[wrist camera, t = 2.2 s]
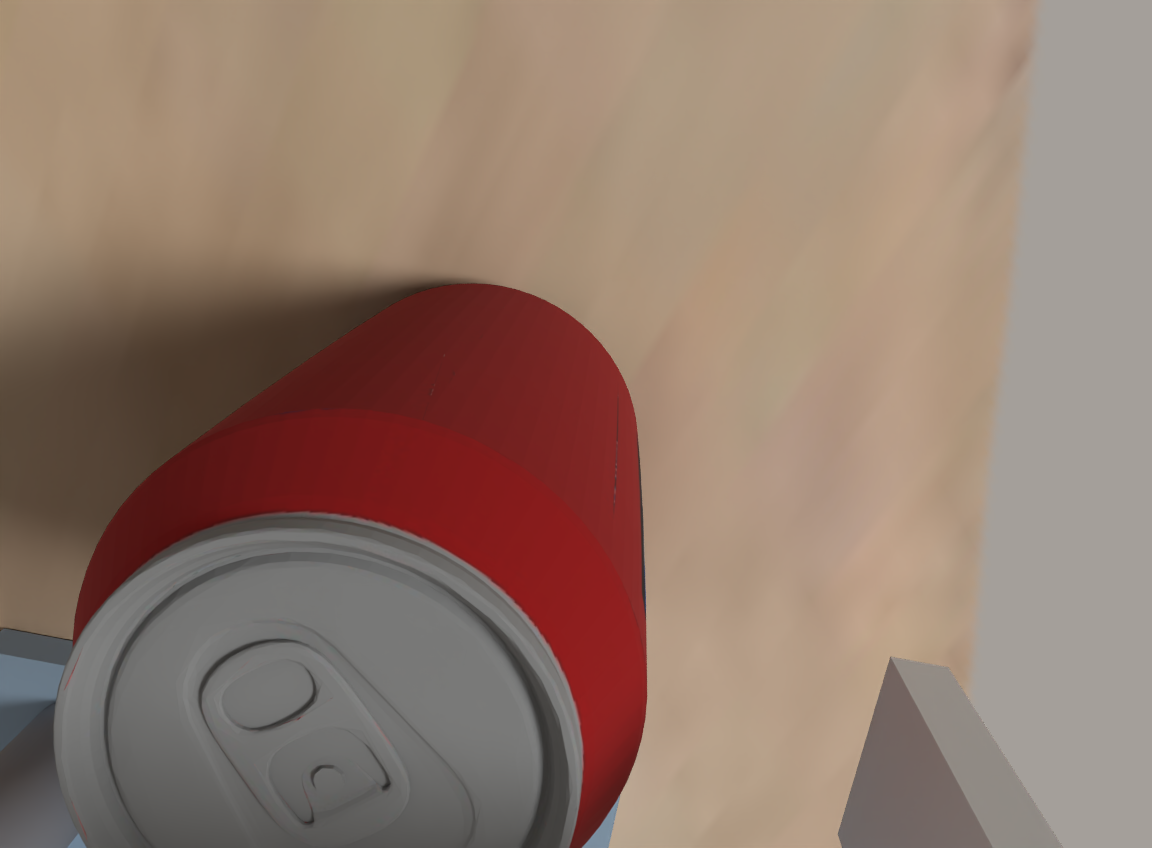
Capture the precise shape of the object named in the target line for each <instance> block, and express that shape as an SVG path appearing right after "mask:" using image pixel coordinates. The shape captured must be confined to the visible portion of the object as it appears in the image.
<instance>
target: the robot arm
mask: <svg viewBox="0 0 1152 848" xmlns="http://www.w3.org/2000/svg"><path fill="white" fill-rule="evenodd" d="M838 836H839V839H840V842H841V845H842V848H1063V846H1062V845H1061V843H1060V842H1059V840H1058V839H1057V837H1056V835H1055V834H1054V832H1053V831H1052V829H1051V828H1050V826H1049V824H1048V823H1047V821H1046V820H1045V818H1044V817H1043V815H1042V813H1041V812H1040V810H1039V809H1038V807H1037V806H1036V804H1035V803H1034V801H1033V799H1032V798H1031V796H1030V795H1029V793H1028V792H1027V790H1026V788H1025V787H1024V785H1023V784H1022V782H1021V780H1020V779H1019V777H1018V776H1017V774H1016V773H1015V771H1014V770H1013V768H1012V766H1011V765H1010V763H1009V762H1008V760H1007V759H1006V757H1005V756H1004V754H1003V752H1002V751H1001V749H1000V748H999V746H998V745H997V743H996V741H995V740H994V738H993V737H992V735H991V734H990V732H989V731H988V729H987V727H986V726H985V724H984V722H983V721H982V719H981V718H980V716H979V715H978V713H977V712H976V710H975V708H974V707H973V705H972V704H971V702H970V701H969V699H968V697H967V696H966V694H965V693H964V691H963V690H962V688H961V686H960V685H959V683H958V682H957V680H956V679H955V677H954V675H953V674H952V672H951V671H950V669H949V668H948V667H944V666H938V665H933V664H927V663H922V662H917V661H911V660H906V659H900V658H895V657H890V660H889V663H888V667H887V670H886V673H885V677H884V680H883V684H882V687H881V690H880V694H879V697H878V700H877V704H876V707H875V711H874V714H873V717H872V721H871V724H870V727H869V731H868V734H867V738H866V741H865V744H864V748H863V751H862V754H861V758H860V761H859V764H858V768H857V771H856V775H855V778H854V781H853V785H852V788H851V791H850V795H849V798H848V802H847V805H846V808H845V812H844V815H843V818H842V822H841V825H840V829H839V832H838Z"/></svg>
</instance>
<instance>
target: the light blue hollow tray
mask: <svg viewBox="0 0 1152 848" xmlns="http://www.w3.org/2000/svg"><path fill="white" fill-rule="evenodd" d="M72 647H73V641H70V640H64V639H59V638H53V637H48V636H43V635H37V634H32V633H26V632H21V631H16V630H10V629H5V628H4V629H3V630H1V631H0V848H87V847H86V846H85V844H84V842H83V841H82V839H81V837H80V835H79V833H78V831H77V829H76V828H75V826H74V824H73V821H72V819H71V816H70V814H69V811H68V809H67V806H66V803H65V800H64V797H63V794H62V791H61V788H60V783H59V779H58V774H57V770H56V764H55V755H54V745H53V722H54V712H55V704H56V698H57V692H58V686H59V683H60V680H61V677H62V674H63V671H64V668H65V665H66V663H67V660H68V658H69V655H70V653H71V650H72ZM619 798H620V796H619V797H618V799H617V801H616V803H615V804H614V806H613V807H612V809H611V810H610V812H609V813H608V815H607V817H606V818H605V820H604V821H603V823H602V824H601V825H600V827H599V828H598V829H597V830H596V832H595V833H594V834H593V835H592V837H591V838H590V839H589V841H588V842H587V843H586V844H585V845H584V846H583V847H582V848H608V847H609V842H610V838H611V833H612V829H613V824H614V820H615V816H616V811H617V807H618V802H619Z"/></svg>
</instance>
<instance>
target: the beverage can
mask: <svg viewBox="0 0 1152 848" xmlns="http://www.w3.org/2000/svg"><path fill="white" fill-rule="evenodd" d="M646 704H647V655H646V590H645V559H644V528H643V507H642V489H641V471H640V458H639V446H638V433H637V424H636V417H635V413H634V408H633V404H632V401H631V397H630V394H629V391H628V389H627V386H626V384H625V381H624V379H623V377H622V375H621V373H620V371H619V369H618V368H617V366H616V364H615V363H614V361H613V360H612V358H611V356H610V355H609V354H608V352H607V351H606V350H605V348H604V347H603V346H602V344H601V343H600V342H599V341H598V340H597V339H596V338H595V337H594V336H593V334H592V333H590V332H589V331H588V330H587V329H586V328H585V327H584V326H583V325H582V324H581V323H579V322H578V321H577V320H576V319H574V318H573V317H572V316H571V315H569V314H567V313H566V312H564V311H563V310H561V309H560V308H558V307H557V306H555V305H553V304H551V303H549V302H547V301H545V300H543V299H541V298H538V297H536V296H534V295H531V294H528V293H525V292H522V291H519V290H516V289H512V288H507V287H503V286H496V285H490V284H455V285H447V286H441V287H437V288H432V289H429V290H425V291H422V292H419V293H416V294H414V295H411V296H409V297H406V298H404V299H402V300H400V301H398V302H396V303H394V304H392V305H391V306H389V307H388V308H386V309H385V310H383V311H381V312H380V313H378V314H377V315H375V316H374V317H372V318H370V319H369V320H367V321H366V322H364V323H363V324H361V325H359V326H358V327H356V328H355V329H353V330H352V331H350V332H349V333H347V334H346V335H344V336H343V337H341V338H340V339H338V340H337V341H335V342H334V343H332V344H331V345H329V346H328V347H326V348H325V349H323V350H322V351H320V352H319V353H317V354H316V355H314V356H313V357H311V358H310V359H308V360H307V361H306V362H304V363H303V364H301V365H300V366H298V367H297V368H296V369H294V370H293V371H291V372H290V373H288V374H287V375H286V376H284V377H283V378H281V379H280V380H278V381H277V382H276V383H274V384H273V385H271V386H270V387H268V388H267V389H266V390H264V391H263V392H261V393H260V394H258V395H257V396H256V397H254V398H253V399H251V400H250V401H249V402H247V403H246V404H244V405H243V406H242V407H240V408H239V409H238V410H236V411H235V412H234V413H232V414H231V415H229V416H228V417H227V418H225V419H224V420H223V421H221V422H220V423H219V424H217V425H216V426H214V427H213V428H212V429H210V430H209V431H208V432H206V433H205V434H203V435H202V436H201V437H199V438H198V439H197V440H195V441H194V442H193V443H191V444H190V445H188V446H187V447H186V448H184V449H183V450H182V451H180V452H179V453H178V454H176V455H175V456H173V457H172V458H171V459H170V460H168V461H167V462H166V463H164V464H163V465H162V466H161V467H159V468H158V469H157V470H155V471H154V472H153V473H152V474H151V475H150V476H149V477H148V478H147V479H146V480H145V481H144V482H142V483H141V484H140V485H139V486H138V487H137V488H136V489H135V490H134V492H133V493H132V494H131V495H130V496H129V498H128V499H127V500H126V501H125V502H124V503H123V505H122V506H121V507H120V508H119V510H118V511H117V513H116V514H115V516H114V517H113V519H112V520H111V522H110V523H109V524H108V526H107V528H106V530H105V532H104V533H103V535H102V537H101V539H100V541H99V543H98V544H97V546H96V549H95V551H94V554H93V556H92V558H91V561H90V563H89V566H88V568H87V571H86V574H85V577H84V581H83V584H82V587H81V591H80V594H79V598H78V604H77V609H76V614H75V622H74V633H73V647H72V650H71V653H70V655H69V658H68V660H67V663H66V665H65V668H64V671H63V674H62V677H61V680H60V683H59V686H58V692H57V698H56V704H55V712H54V722H53V745H54V755H55V764H56V770H57V774H58V779H59V783H60V788H61V791H62V794H63V797H64V800H65V803H66V806H67V809H68V811H69V814H70V816H71V819H72V821H73V824H74V826H75V828H76V829H77V831H78V833H79V835H80V837H81V839H82V841H83V842H84V844H85V846H86V847H87V848H582V847H583V846H584V845H585V844H586V843H587V842H588V841H589V839H590V838H591V837H592V835H593V834H594V833H595V832H596V830H597V829H598V828H599V827H600V825H601V824H602V823H603V821H604V820H605V818H606V817H607V815H608V813H609V812H610V810H611V809H612V807H613V806H614V804H615V803H616V801H617V799H618V797H619V796H620V794H621V792H622V790H623V788H624V786H625V784H626V782H627V780H628V778H629V775H630V773H631V770H632V768H633V765H634V763H635V760H636V756H637V753H638V749H639V746H640V743H641V739H642V733H643V728H644V722H645V715H646Z"/></svg>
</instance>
